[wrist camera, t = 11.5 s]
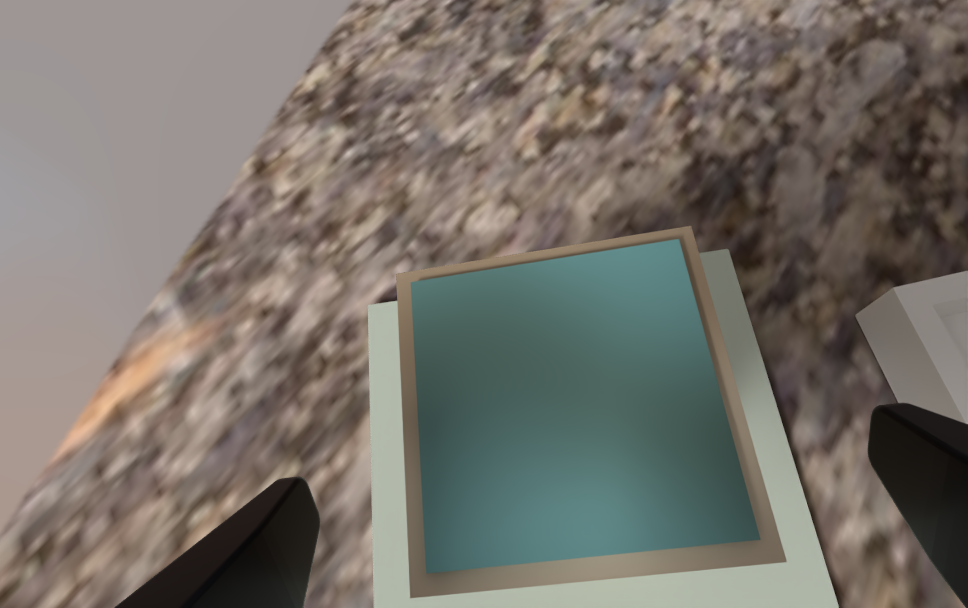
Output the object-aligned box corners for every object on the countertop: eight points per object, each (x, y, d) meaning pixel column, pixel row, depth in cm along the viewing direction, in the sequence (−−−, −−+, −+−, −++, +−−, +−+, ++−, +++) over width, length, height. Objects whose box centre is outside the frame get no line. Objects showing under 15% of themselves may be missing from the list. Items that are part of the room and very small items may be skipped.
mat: (856, 691, 15) (866, 697, 15) (382, 724, 17) (376, 731, 16) (724, 255, 21) (727, 248, 20) (373, 310, 22) (367, 305, 22)
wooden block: (661, 535, 17) (792, 563, 7) (505, 552, 18) (405, 600, 7) (629, 381, 19) (693, 219, 9) (489, 400, 19) (392, 269, 9)
